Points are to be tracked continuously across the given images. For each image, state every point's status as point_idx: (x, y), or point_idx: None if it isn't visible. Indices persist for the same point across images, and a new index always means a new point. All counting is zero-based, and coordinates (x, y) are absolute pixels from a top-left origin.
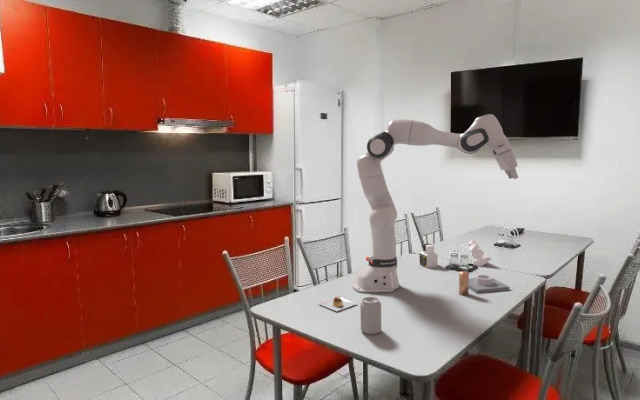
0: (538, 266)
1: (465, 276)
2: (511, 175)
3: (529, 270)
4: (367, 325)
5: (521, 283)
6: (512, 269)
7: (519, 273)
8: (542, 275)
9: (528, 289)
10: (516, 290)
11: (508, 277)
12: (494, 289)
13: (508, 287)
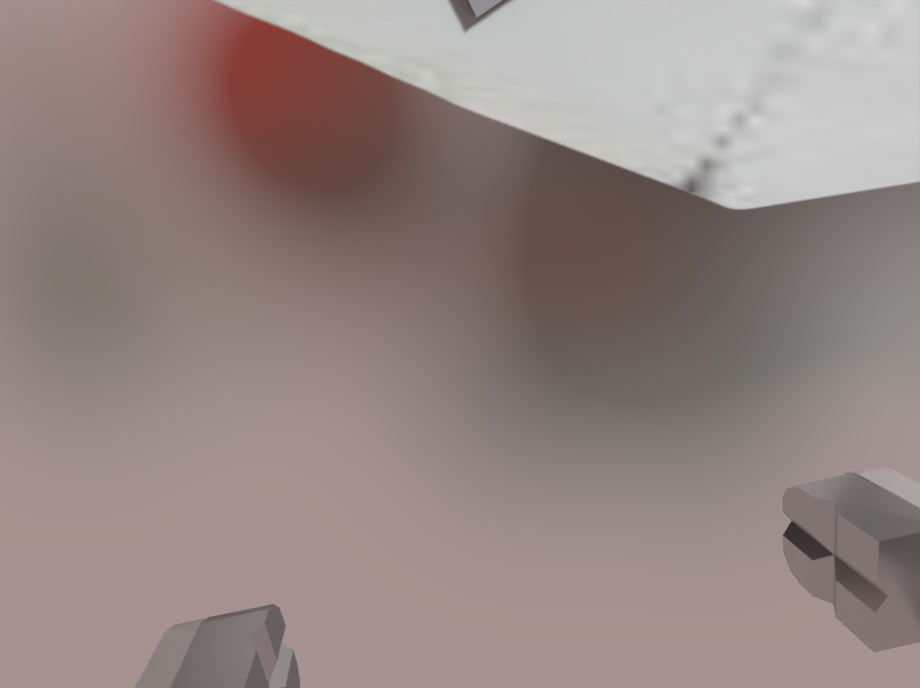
0: (834, 182)
1: None
2: (838, 587)
3: (780, 139)
4: None
5: (584, 85)
6: (809, 57)
7: (739, 88)
8: (702, 185)
9: (502, 110)
10: (475, 52)
11: (676, 25)
12: None
13: (474, 13)
